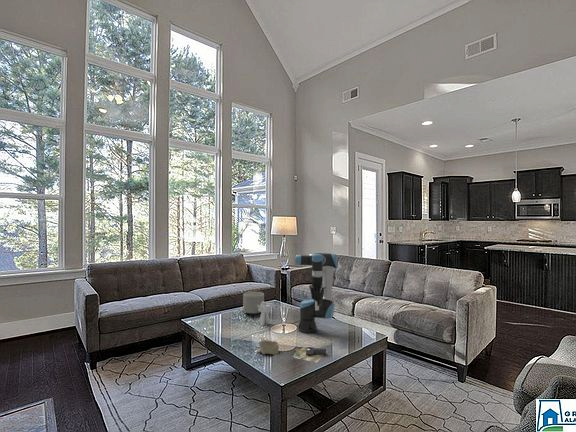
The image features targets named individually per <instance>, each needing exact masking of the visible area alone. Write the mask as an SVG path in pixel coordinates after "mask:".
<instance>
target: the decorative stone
mask: <svg viewBox="0 0 576 432" xmlns="http://www.w3.org/2000/svg"><path fill="white" fill-rule="evenodd" d="M258 346H259V348H257V350H256V353H257V354H263V355H273V356H275V355H278V354H279V347H280V346H279V344H278V341H273V340H269V339H268V340H267V339H265V340H264V339H261V340H260V341H259V342H258Z"/></svg>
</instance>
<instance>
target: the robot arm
mask: <svg viewBox="0 0 576 432" xmlns="http://www.w3.org/2000/svg"><path fill="white" fill-rule="evenodd" d="M294 260H295V261H294V263H295V265H297V266H311V284H310V285H309V290H310V295H311V299H304V300H302V301H300V304H299V308H300V309H299V310H300V311H299V313H300V315H299V317H300V318H299V322H298V325H297V330H298V332H300V333H305V334H312V333H316V332H317V331H318V326H317V323H316V318H317V319H325V320H327V319H328V320H330V319H332V318H333V316H334V313H335V306H336V305H335V304H334V302H333V300H332V296H333V295H332V293H333V282H334V272H335V271H336V269H337V268H338V267H339V263H338V255H337V254H335V253H330V252H329V253H327V252H326V253H325V252H324V253H322V252H317V253H310V254H296V255H295V258H294Z"/></svg>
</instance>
